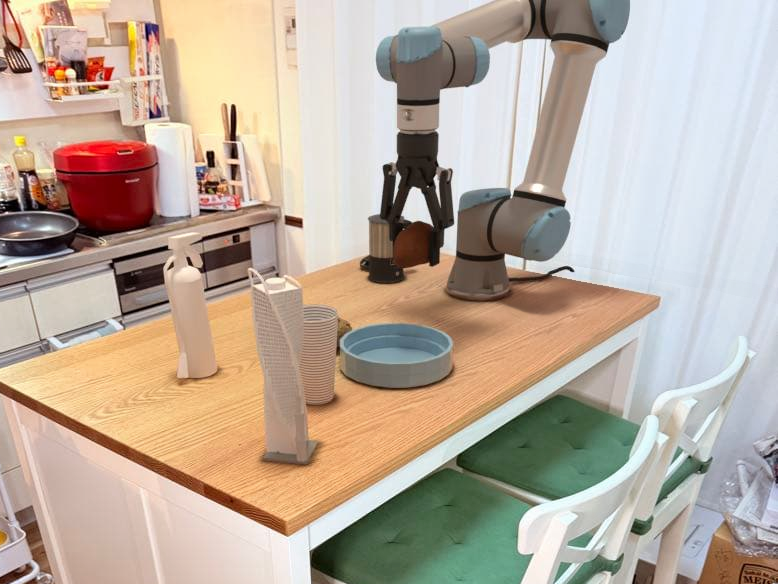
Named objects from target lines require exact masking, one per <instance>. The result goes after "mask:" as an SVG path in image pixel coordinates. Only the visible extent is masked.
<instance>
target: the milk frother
mask: <svg viewBox="0 0 778 584" xmlns="http://www.w3.org/2000/svg"><path fill="white" fill-rule="evenodd" d="M405 218H406V217H405V216H404V215H401V217H400V219H401V221H398V223H400V222H401V223H403V230H404V229H405V228H406V227H408V226H409V225H410V224H411V223H413V222H412V221H411V220H409V219H405ZM367 220H368V244H369V246H368V248H369V249H368V250H369V255H367V256H365V257H363V258H362V259H361V260H360V261H359V267H360V268H361V269H362V270H364V271H369V273H368V277H367V279H368V280H369V281H371V282H374V283H380V284H393V283H397V282H401V281H402V280H404V278H405V275H404V268H400V267H398V266H397V265H396V264H395V261H394V260H393V244H392V241H390V239H389V223H388V222H387V221H386V220H382V219H381V218H380V213H377V214H372V215H370V216H368V217H367Z"/></svg>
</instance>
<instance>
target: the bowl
mask: <svg viewBox="0 0 778 584" xmlns="http://www.w3.org/2000/svg"><path fill="white" fill-rule="evenodd" d="M454 346H455V344H454V341H453V338H452V337H451V336H450V335H448V334H447V333H446V332H445V331H443V330H440V329H437V328H435V327H432V326H428V325H424V324H419V323H410V322H409V323H408V322H382V323H374V324H368V325H363V326H360V327H357V328H354V329H352V331H350V332H348V333H346V334H345V335H344V336H343V337H342V338H341V339H340V346H339V364H340V365H339V366H340V367H339V368H340V370H341V372H342V373H343V374H344V375H345V376H346V377H348V378H350V379H352V380H353V381H355V382H358V383H361V384H364V385H369V386H372V387H379V388H389V389H404V388H405V389H406V388H415V387H420V386H426V385H430V384H432V383H435V382H438V381H441V380H442V379H444V378H446V377H447V376H448V375H450V373H451V371H452V369H453V367H454V366H453V364H454V350H455V349H454Z"/></svg>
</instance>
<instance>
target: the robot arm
mask: <svg viewBox="0 0 778 584" xmlns="http://www.w3.org/2000/svg"><path fill="white" fill-rule="evenodd" d="M630 13H631V0H492V1H490V2H487V3H484V4H482V5H480V6H477V7H474V8H472V9H469V10H467V11H464V12H462V13H460V14H457V15H455V16H452V17H450V18H446V19H444V20H442V21H439V22H436V23H434V24H432V25H429V26H407V27H402V28H401V29H400V30H399V31H398V33H397V34H395V35H390V36H389V35H388V36H386V37H384V38H383V39H382V40H381V41H380V43H379V44H378V46H377V48H376V53H375V65H376V70H377V72H378V74H379V76H380V77H381V79H383V81H384V80H385V81H386V82H390V83H391V82H392V83H394V84H396V128H397V129H398V130H399V131H398V132H397V134H396V153H397V159H396V160H395V161H396V162H393V161H391V162H388V163H385V164H383V165H382V173H383V185H382V192H381V193H382V194H381V202H380V211H379V214H380V218H381V219H382V220H386V221H387V222H388V223H389V239H390V241H392V244H393V249H394V244H395V240H396V237H397V236H398V234H399V233H400V232H401V231H402V230H404V229H403V223H401V222H400V223H398V221H401V219H400V217H401V216H402V214H403V211H404V209H405V205H406V203H407V200H408V197H409V194H410V191H411V190H412V188H416V189H420V193H421V194H422V195H423V197H424V200H425V204H426V207H427V211H428V213H429V217H430V220H431V222H432V224H431V225H432V226H433V227H434V229H432V230H431V231H430V256H429V263H428V264H429V265H428V267H431V268H433V267H435V266H437V265H439V264H440V263H441V261H440V259H441V248H443V247H444V245H445V230H446V229H449V228H450V227H453V226H454V225H455V213H454V212H455V211H454V203H453V202H454V200H453V191H452V181H453V175H454V170H453V169H452V167H448V168H444V167H441V166H440V164H439V161H438V155H439V140H440V139H439V138H440V137H439V136H440V135H439V134H440V133H438V131H436V130H438V129H439V128H440V103H441V101H440V99H441V90H445V89H446V90H447V89H454V88H469V87H470V86H474V85H475V86H476V85H478V84H480V83H482V82H483V80H485V78H486V76H487V75H488V73H489V71H490V64H491V54H490V49H492V48H494V47H497V46H499V45H501V44H503V43H506V42H507V43H510V44H517V43H520V42H522V41H525V40H549V41H550V43H549V47H550V49H551V51H552V53H553V56H554V58H553V61H552V65H551V69H550V74H549V77H548V80H547V81H548V82H547V86H546V89H545V93H544V98H543V102H542V105H541V109H540V114H539V118H538V122H537V125H536V130H535V133H534V138H533V140H532V145H531V150H530V154H529V158H528V160H527V161H528V162H527V165H526V169H525V172H524V177H523V181H522V182H521V183H520V184H518V185H517V186H516V187H514V189H513V193H512V192H511V189H510V188H507V187H490V188H480V189H473V190H468V191H465V192H464V193H461V196H460V197H459V202H458V210H457V220H456V221H457V222H456V243H455V246H456V247H455V259H454V262H453V264H452V267H451V270H450V273H449V275H448V277H447V281H446V289H445V290H446V292H447V294H448V295H450V296H451V297H454V298H457V299H460V300H466V301H476V302H477V301H480V302H482V301H483V302H484V301H495V300H499V299H502V298H505V297H507V296H508V295H509V294H510V288H511V287H510V286H511V285H510V283H511V282H512V283H513V282H533V281H543V280H545V279H549V277H550V276H552V275H555V274H557V273H560V272H561V271H562V272H563V271H569V272H570V273H575V270H574V268H573V267H572V266H569V265H564V266H560V267H558V268H555V269H553V270H550V271H548V272H547V273H546V274H544V275H537V276H522V277H509V275H508V269H507V265H506V260H505V258H506V255H508V256H512V257H516V258H519V259H523V260H525V261H532V262H533V261H534V262H539V263H540V262H541V263H543V262H548V261H549V260H551V259H552V258H554V257H555V256H556V255H557V254H559V252H560V251H561V250H562V248H563V247H564V246H565V243H566V241H567V239H568V237H569V234H570V231H571V226H572V224H571V223H572V222H571V221H570V220H571V215H570V212H569V211H568V210H567V209H566V203H567V198H566V196H565V194H564V192H563V188H564V184H565V180H566V177H567V174H568V173H567V172H568V169H569V166H570V161H571V158H572V154H573V151H574V147H575V144H576V139H577V136H578V133H579V129H580V125H581V121H582V117H583V113H584V110H585V107H586V103H587V100H588V95H589V92H590V89H591V85H592V80H593V77H594V75H595V71H596V67H597V64H598V63H599V62H601V61H602V60H603V59H604V58H606V57H607V54H608V51H609V46H610V44H614V43H615V42H617V41H619V40H620V39H621V38H622V36H623V35H624V34H625V32H626V30H627V27H628V22H629V19H630V15H631V14H630ZM397 174H398V175H399V177H400V180H399V182H398V185H397V184H396V183H397V182H396V181H397ZM436 176H437V178H436V179H437V181H438V190H439V191H438V192H439V193H438V194H439V197H438V194H437V185H436V182H435V177H436ZM396 185H397V191H396V195H395V190H396ZM393 260H394V257H393Z"/></svg>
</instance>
